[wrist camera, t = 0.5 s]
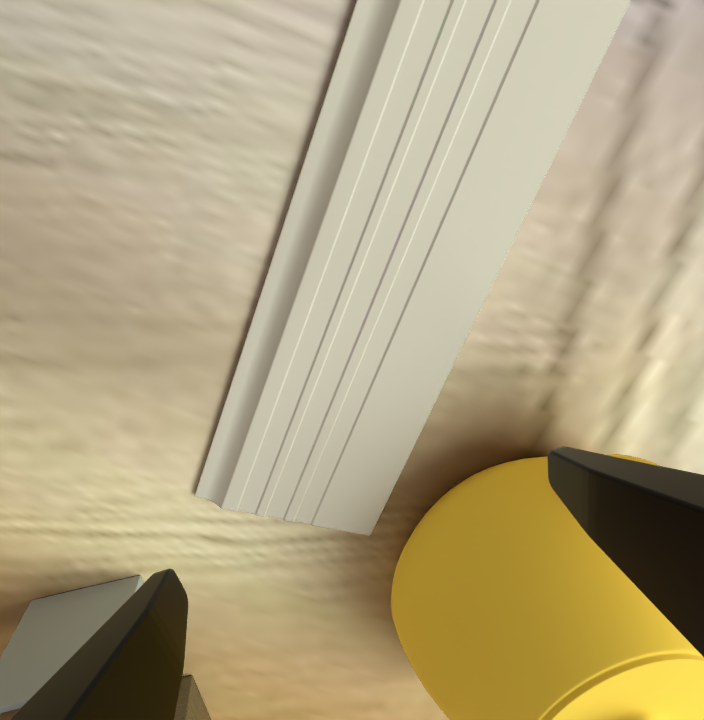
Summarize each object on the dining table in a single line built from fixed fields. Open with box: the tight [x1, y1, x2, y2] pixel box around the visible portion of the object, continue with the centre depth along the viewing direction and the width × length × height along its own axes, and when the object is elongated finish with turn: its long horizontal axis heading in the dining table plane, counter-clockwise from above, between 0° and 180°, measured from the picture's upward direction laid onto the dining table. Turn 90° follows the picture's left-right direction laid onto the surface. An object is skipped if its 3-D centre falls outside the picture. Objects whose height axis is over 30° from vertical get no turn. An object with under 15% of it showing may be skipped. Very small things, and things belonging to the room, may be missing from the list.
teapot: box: [391, 454, 704, 720], centre depth 24 cm, size 25×18×14 cm
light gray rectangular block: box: [0, 575, 144, 714], centre depth 24 cm, size 2×6×6 cm, turn 98°
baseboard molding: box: [195, 0, 631, 536], centre depth 21 cm, size 31×3×12 cm
